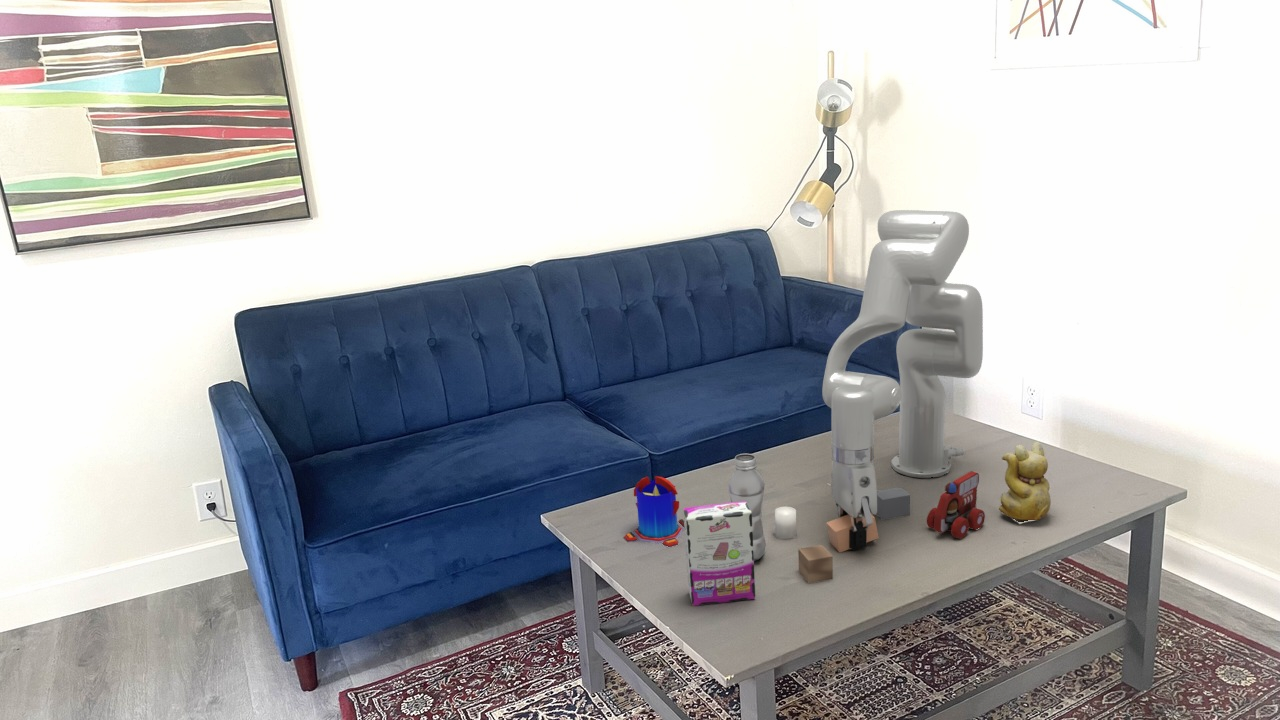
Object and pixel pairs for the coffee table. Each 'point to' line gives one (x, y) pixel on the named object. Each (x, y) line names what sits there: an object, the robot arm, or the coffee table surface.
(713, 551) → the candy bar box
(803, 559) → the walnut square block
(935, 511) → the toy fire truck
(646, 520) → the fantasy tower
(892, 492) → the grey short brick
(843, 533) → the terracotta long brick
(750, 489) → the plastic bottle
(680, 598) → the coffee table surface
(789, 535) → the cream cylinder
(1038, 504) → the decorative figurine
